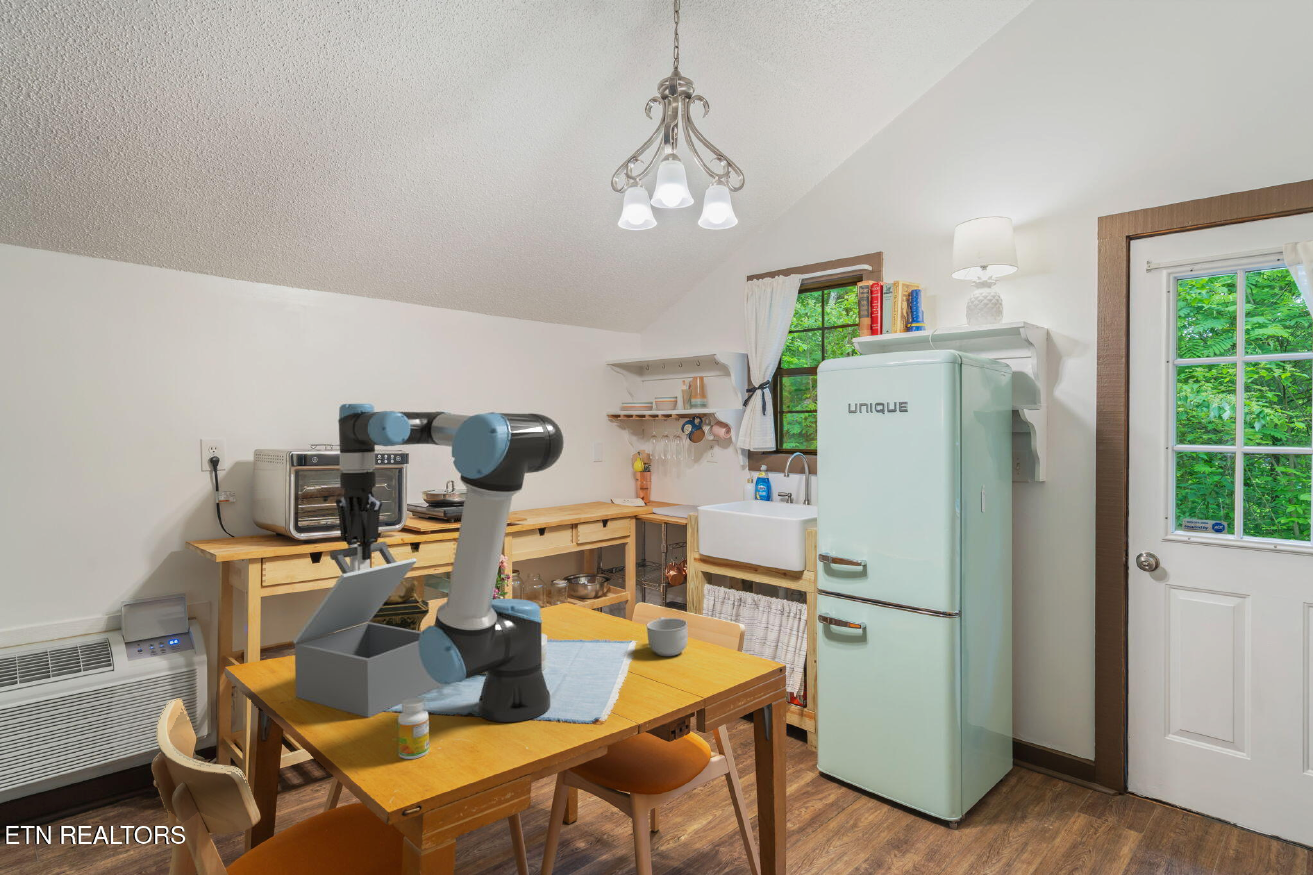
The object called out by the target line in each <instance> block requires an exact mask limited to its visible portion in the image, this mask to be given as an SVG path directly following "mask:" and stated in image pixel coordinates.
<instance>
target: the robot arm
mask: <svg viewBox="0 0 1313 875" xmlns="http://www.w3.org/2000/svg"><path fill="white" fill-rule="evenodd" d="M338 410H339V412H338V413H339V414H338V419H337V422H338V436H339V437H338V439H339V440H338V441H339V443H338V444H339V470H340V471H342V472H340V474H339V478H340V479H339V480H340V481H339V485H340V488H341V489H343V490H344V491H343V495H342V496H343V497H341V498H339V499H335V501H334V502H335V505H336V507H337V514H338V521H339V532H340V539H341V541H342V542H345V543H346V545H347V548H351V547H357V551H358V552H357V555H356V556H351V557H348V558H349V566H350V568H351V569H352V571H353V572H354V571H359V570H364V569H368V568H371V563H370V562H371V561H370V560H371V558H372V555H371V554H372V553H371V544H373V543H378V540H379V539H378V538H379V529H380V516H381V515H380V514H381V509H382V506H383V501H382V500H376V498H375V495H374V492H373V489H374V488H375V487H376V486H377V485H376V484H377V483H376V482H377V481H376V480H377V479H376V476H377V475H376V472H375V471H374V469H376V446H382V447H395V446H408V445H409V446H410V445H411V446H413V445H433V446H434V445H436V446H441V447H442V446H445V447H449V448H450V447H451V457H452V458H454V460H453V465H454V468H455V470H456V471H457V473H459V474H460V478H459V480H460V482H461V483H462V484H463V486H464V487H465V488H466V492H465V496H464V502H463V508H462V514H461V519H460V520H461V521H460V526H459V530H458V537H457V542H456V548H455V554H454V559H453V565H452V570H451V571H452V572H451V577H450V582H449V587H448V593H447V597H446V598H447V599H446V601H445V602H444V603H442V604H441V605H439V606H438V608H437V610H436V616H435V620H434V624H433V625H428V626H427V627H425V629H422V630H421V634H420V637H419V643H418V647H419V655H420V658H421V661H422V663H423V666H424V668H425V670H426V672H427V673H428V674H429V676H430V677H431V678H432V679H433V680H435V681H436V682H438V683H440V685H452V684H454V683H461V682H463V681H465V680H467V679H470V678H472V677H476V676H478V675H480V674H484V673H486V675H485V678H484V682H483V684H482V687H481V688H482V689H481V692H480V695H479V698H478V704H477V706H478V714H479V716H481V717H482V718H483V719H485V720H488V721H493V722H498V723H499V722H501V723H516V722H523V721H527V720H532V719H534V718H537V717H540V716H542V715H543V714H545V713H547V711H549V709H550V707H551V693H550V692H549V689H548V686H547V682H546V678H545V676H544V673H543V669H542V668H543V667H542V664H543V663H542V659H543V658H542V648H543V647H542V646H543V645H542V643H543V642H542V624H543V621H542V614H541V613H542V612H541V607H540V606H539V604H538V603H536V602H534V601H532V600H528V599H527V600H526V599H521V598H520V599H518V598H494V594H495V589H496V584H497V578H498V575H499V574H498V573H499V567H500V563H501V562H500V561H501V557H502V554H503V553H502V552H503V547H504V542H505V537H506V536H505V535H506V531H507V526H508V520H509V517H510V510H511V506H512V505H511V504H512V501H513V500H512V499H513V496H515V495H516V494H517V493H518V492H519V493H520V491H522V489H523V484H524V481H525V475H526V474H530V473H531V474H532V473H538V472H541V471H545V470H548V469H549V468H551V467H552V466H553V465H555V463H557V462H558V460H559V459H560V458H561V455H562V452H563V450H564V443H565V442H564V441H565V440H564V436H563V432H562V429H561V427H559V425H558V423H556V421H555V420H553V419H552V418H550V417H548V416H546V415H544V414H540V413H531V412H530V413H509V412H508V413H507V412H506V413H505V412H504V413H502V412H494V411H493V412H488V413H477V414H473V415H465V414H455V413H450V412H445V411H394V410H383V411H375V406H374V405H373V404H372V403H343V404H340V406H339V409H338ZM493 598H494V599H493Z"/></svg>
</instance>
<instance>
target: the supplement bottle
mask: <svg viewBox="0 0 1313 875" xmlns="http://www.w3.org/2000/svg"><path fill="white" fill-rule="evenodd" d="M425 707H426V706H425V699H424V698H422V697H419V696H417V697H414V698H409V699H406V700H404V701H403V702H402V703H401V711H402V712H401V713H400V714H399V715H398V717H397V730H398V731H397V734H398V737H397V739H398V742H397V743H398V746H397V747H398V751H397V752H398V756H399V757H400V758H401V759H405V760H414V759H415V760H416V759H419V758H422V757H424V756H425V755H427V754H428V753H429V751H430V731H429V730H430V728H429V727H430V724H429V723H430V720H429V718H430V717H429V712H428V711H427V710H426V709H425Z"/></svg>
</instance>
